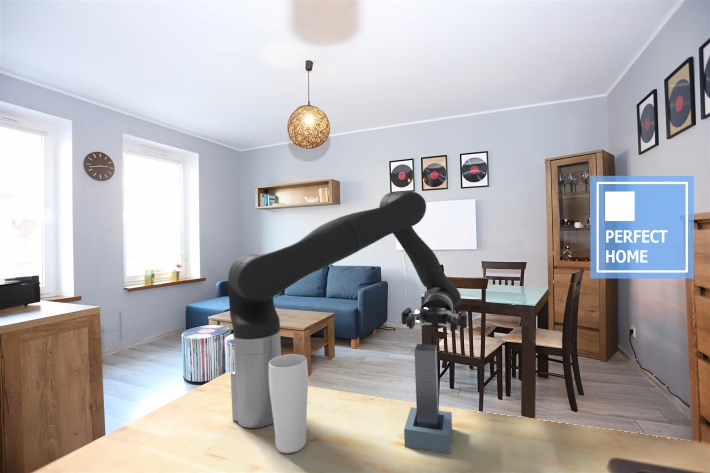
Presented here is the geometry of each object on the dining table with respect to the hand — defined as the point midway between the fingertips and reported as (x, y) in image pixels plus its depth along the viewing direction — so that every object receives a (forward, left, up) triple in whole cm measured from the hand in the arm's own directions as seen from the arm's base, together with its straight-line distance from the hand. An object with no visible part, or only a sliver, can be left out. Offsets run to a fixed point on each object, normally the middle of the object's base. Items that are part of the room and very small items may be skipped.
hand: (431, 325), depth 71 cm
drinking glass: (-23, -19, -17) cm, 35 cm away
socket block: (0, -11, -17) cm, 20 cm away
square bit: (0, -11, -17) cm, 20 cm away
